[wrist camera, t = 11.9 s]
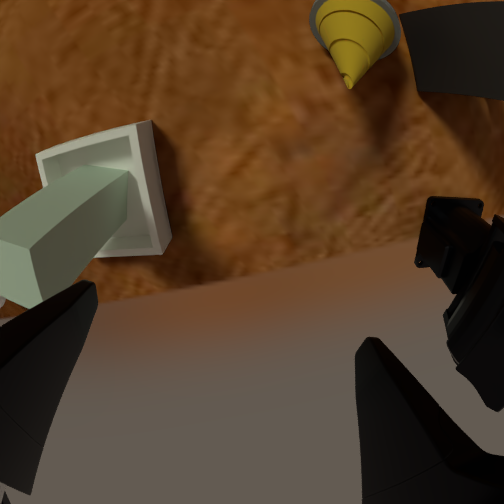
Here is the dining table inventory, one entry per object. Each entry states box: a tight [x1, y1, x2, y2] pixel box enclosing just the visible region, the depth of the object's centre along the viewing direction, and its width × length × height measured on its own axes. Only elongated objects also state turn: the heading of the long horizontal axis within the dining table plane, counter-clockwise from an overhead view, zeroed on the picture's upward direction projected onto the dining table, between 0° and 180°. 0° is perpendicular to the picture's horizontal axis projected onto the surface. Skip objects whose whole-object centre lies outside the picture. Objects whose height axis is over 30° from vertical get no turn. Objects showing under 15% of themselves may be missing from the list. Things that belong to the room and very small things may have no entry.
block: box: [0, 165, 128, 309], centre depth 15 cm, size 4×4×11 cm
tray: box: [35, 120, 172, 258], centre depth 19 cm, size 9×9×3 cm
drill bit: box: [309, 0, 401, 89], centre depth 11 cm, size 5×5×10 cm
